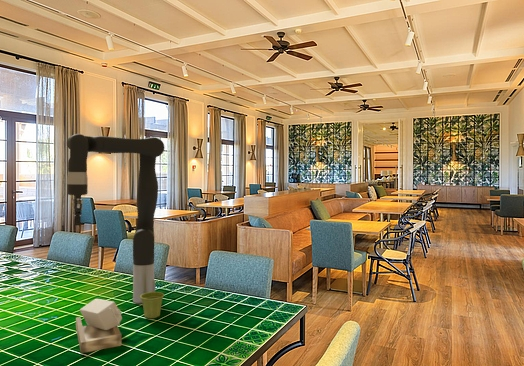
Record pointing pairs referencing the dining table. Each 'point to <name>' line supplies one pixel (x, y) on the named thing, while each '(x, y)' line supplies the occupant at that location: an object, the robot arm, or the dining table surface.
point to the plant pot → (152, 304)
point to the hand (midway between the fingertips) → (77, 225)
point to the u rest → (96, 337)
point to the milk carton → (101, 314)
